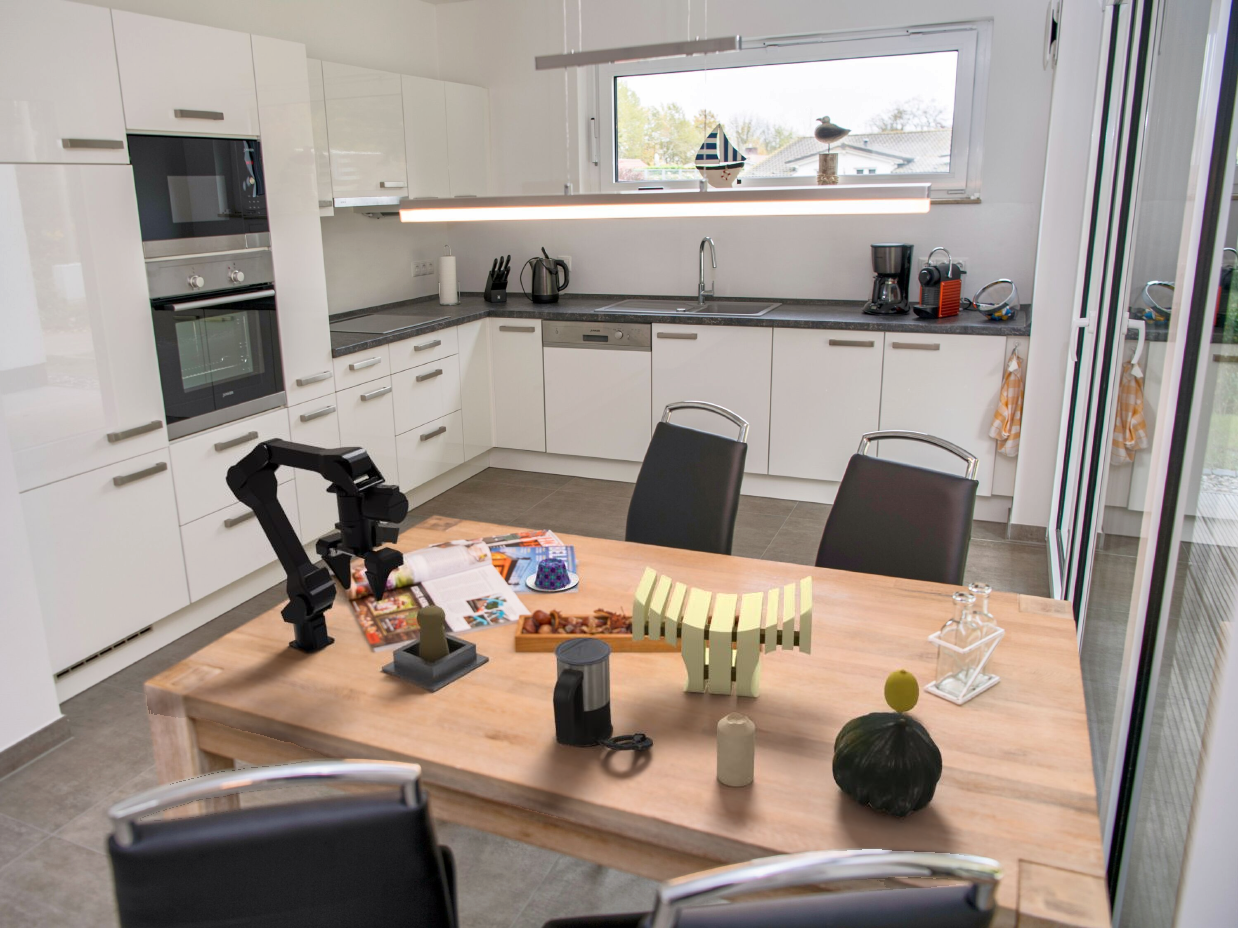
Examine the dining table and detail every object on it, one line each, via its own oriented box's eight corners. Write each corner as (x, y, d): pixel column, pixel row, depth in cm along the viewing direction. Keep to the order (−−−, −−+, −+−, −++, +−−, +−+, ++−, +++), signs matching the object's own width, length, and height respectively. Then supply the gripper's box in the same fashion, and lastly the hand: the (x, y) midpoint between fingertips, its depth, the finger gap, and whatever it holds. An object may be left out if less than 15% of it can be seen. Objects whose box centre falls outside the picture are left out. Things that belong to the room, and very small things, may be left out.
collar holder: (382, 669, 170) (380, 652, 169) (438, 640, 180) (436, 624, 179) (433, 691, 162) (432, 673, 161) (488, 660, 172) (487, 643, 171)
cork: (452, 667, 169) (448, 613, 166) (419, 672, 167) (414, 617, 164) (449, 652, 174) (445, 599, 171) (417, 656, 173) (412, 604, 170)
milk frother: (560, 715, 154) (556, 635, 149) (653, 716, 153) (652, 636, 149) (550, 765, 140) (546, 679, 136) (653, 766, 139) (652, 680, 135)
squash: (837, 719, 141) (839, 687, 128) (939, 737, 137) (951, 705, 124) (826, 813, 134) (828, 789, 121) (933, 835, 130) (946, 812, 117)
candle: (713, 766, 139) (714, 708, 136) (749, 763, 139) (750, 706, 136) (720, 788, 134) (721, 728, 131) (757, 786, 134) (759, 726, 131)
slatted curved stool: (633, 694, 159) (632, 601, 154) (648, 652, 174) (647, 565, 169) (808, 709, 154) (812, 613, 149) (807, 664, 169) (811, 575, 164)
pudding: (548, 598, 199) (547, 576, 198) (515, 583, 208) (514, 561, 207) (589, 583, 207) (589, 561, 206) (556, 568, 216) (555, 548, 214)
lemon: (899, 725, 149) (902, 681, 146) (875, 709, 153) (878, 666, 151) (924, 716, 151) (928, 672, 149) (900, 700, 156) (903, 658, 154)
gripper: (423, 513, 168) (429, 591, 172) (358, 496, 178) (366, 570, 183) (374, 531, 159) (382, 612, 163) (309, 511, 170) (318, 588, 174)
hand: (363, 594), depth 171 cm, fingers open, 9 cm apart
